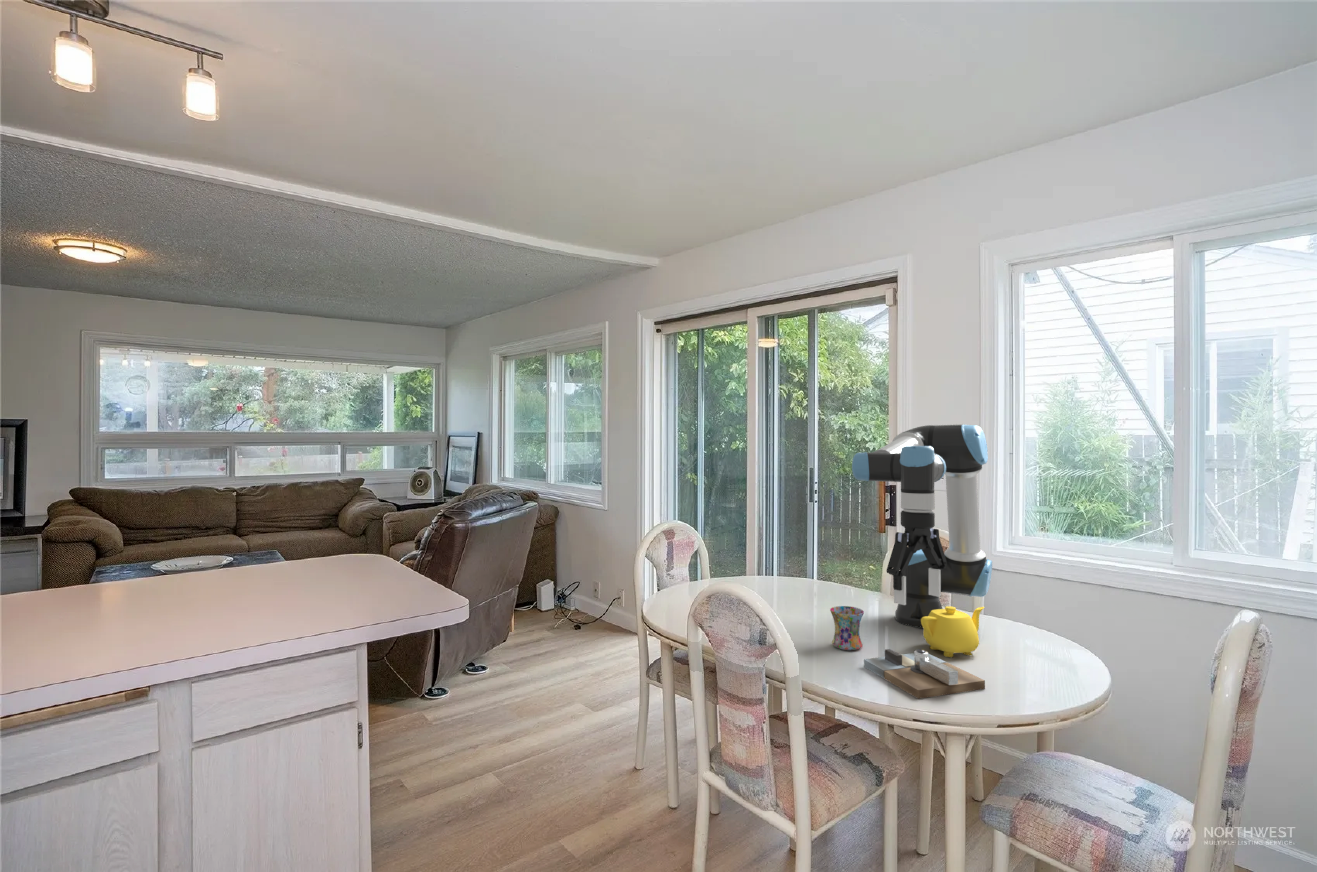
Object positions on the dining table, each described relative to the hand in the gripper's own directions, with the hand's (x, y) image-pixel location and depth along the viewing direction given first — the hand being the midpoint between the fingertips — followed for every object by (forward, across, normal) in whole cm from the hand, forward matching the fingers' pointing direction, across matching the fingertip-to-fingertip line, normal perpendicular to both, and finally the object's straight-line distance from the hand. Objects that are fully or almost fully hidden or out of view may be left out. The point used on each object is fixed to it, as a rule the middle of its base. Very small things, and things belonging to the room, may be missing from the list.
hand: (917, 599), depth 150 cm
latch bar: (+19, -6, 0) cm, 20 cm away
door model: (+22, -8, -4) cm, 23 cm away
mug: (+22, -12, -31) cm, 40 cm away
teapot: (+22, -33, -11) cm, 41 cm away
